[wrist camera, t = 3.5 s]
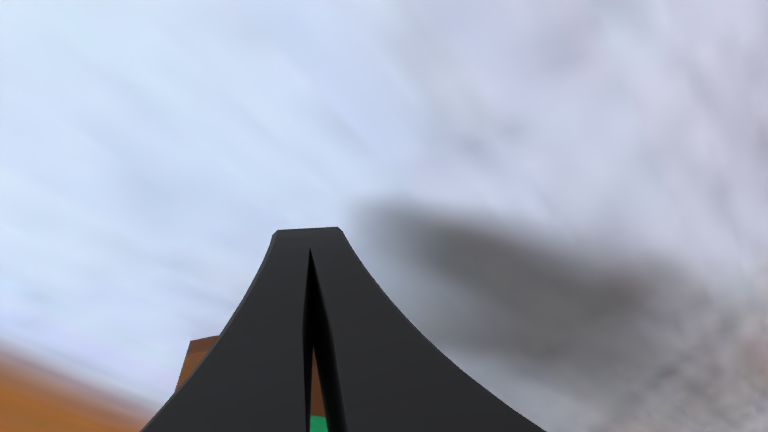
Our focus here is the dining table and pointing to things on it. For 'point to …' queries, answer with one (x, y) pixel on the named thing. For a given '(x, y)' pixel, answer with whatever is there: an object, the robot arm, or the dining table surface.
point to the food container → (318, 419)
